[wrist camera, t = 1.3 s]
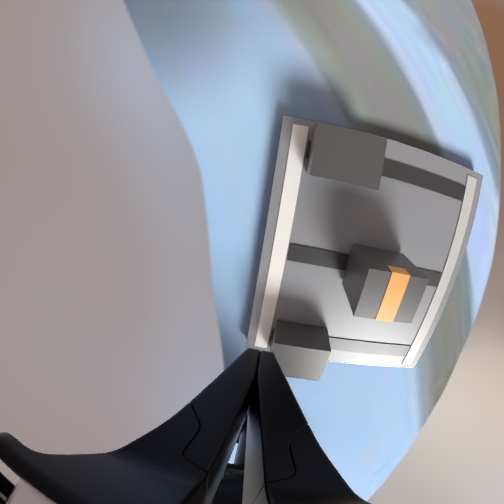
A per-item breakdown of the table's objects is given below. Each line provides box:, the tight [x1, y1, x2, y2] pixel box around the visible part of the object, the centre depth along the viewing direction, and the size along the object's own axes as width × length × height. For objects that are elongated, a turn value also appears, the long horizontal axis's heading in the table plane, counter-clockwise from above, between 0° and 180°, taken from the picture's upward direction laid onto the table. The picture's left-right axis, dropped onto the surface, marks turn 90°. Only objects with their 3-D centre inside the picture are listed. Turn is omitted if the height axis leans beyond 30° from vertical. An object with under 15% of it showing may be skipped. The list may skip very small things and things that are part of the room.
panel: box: [246, 115, 483, 381], centre depth 18 cm, size 18×16×4 cm
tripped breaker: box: [342, 243, 429, 324], centre depth 16 cm, size 3×4×5 cm
